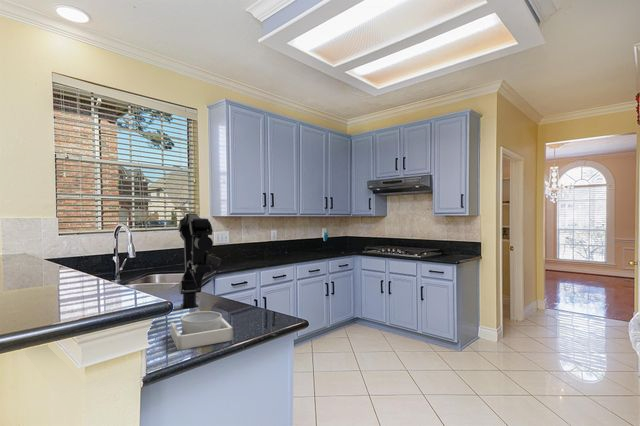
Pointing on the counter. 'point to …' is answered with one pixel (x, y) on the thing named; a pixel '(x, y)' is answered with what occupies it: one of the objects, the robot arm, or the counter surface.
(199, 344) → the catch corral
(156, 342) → the counter surface
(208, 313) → the ramekin
